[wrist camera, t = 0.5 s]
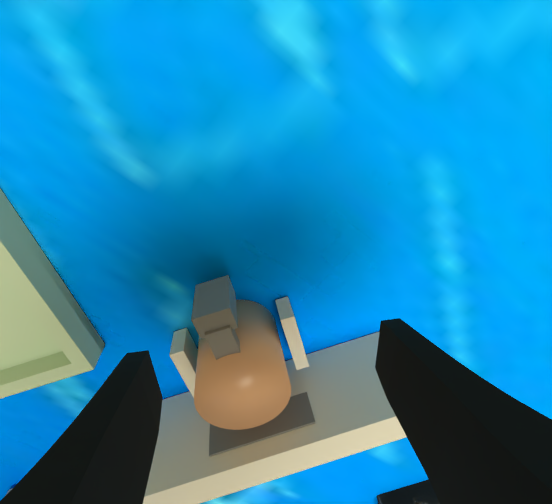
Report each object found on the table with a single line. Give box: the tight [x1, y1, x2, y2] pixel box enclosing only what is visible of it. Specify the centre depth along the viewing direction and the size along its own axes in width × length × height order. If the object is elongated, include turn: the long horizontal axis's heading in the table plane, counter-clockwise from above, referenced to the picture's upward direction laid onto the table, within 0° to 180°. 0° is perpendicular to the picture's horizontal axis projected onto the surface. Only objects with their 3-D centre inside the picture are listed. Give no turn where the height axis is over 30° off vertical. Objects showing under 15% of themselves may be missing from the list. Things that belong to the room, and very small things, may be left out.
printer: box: [143, 296, 407, 504], centre depth 19 cm, size 18×7×6 cm, turn 105°
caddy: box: [191, 275, 291, 430], centre depth 18 cm, size 5×7×5 cm, turn 15°
